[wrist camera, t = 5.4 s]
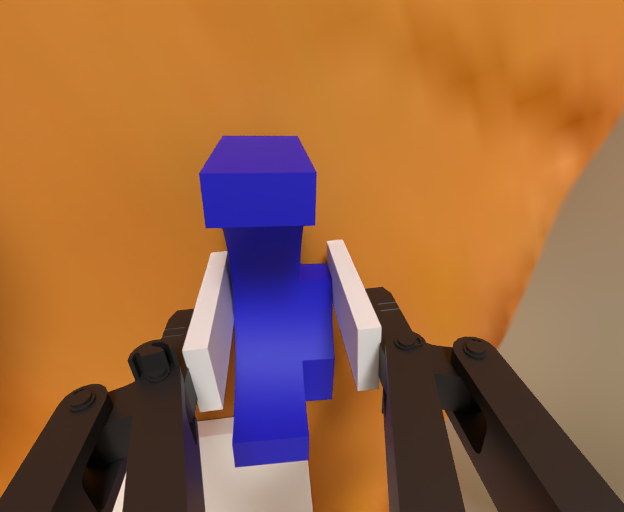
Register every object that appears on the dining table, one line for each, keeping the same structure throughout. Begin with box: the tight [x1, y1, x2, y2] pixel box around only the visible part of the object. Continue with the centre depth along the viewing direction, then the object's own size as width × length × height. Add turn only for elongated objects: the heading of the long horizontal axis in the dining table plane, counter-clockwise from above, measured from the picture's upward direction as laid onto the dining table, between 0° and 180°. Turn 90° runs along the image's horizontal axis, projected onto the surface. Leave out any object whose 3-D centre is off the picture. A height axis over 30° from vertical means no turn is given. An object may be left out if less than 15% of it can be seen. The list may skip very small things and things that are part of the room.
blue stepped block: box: [199, 136, 335, 468], centre depth 15 cm, size 12×4×6 cm, turn 179°
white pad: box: [113, 417, 313, 512], centre depth 26 cm, size 16×16×1 cm
